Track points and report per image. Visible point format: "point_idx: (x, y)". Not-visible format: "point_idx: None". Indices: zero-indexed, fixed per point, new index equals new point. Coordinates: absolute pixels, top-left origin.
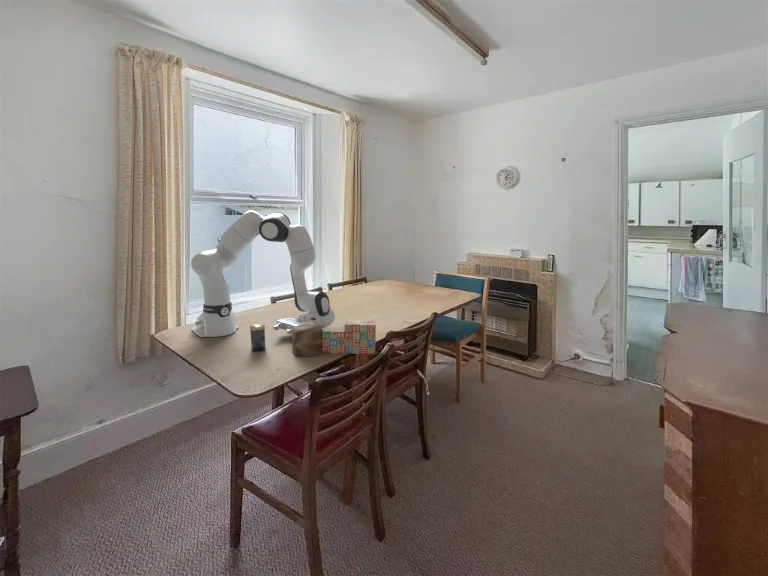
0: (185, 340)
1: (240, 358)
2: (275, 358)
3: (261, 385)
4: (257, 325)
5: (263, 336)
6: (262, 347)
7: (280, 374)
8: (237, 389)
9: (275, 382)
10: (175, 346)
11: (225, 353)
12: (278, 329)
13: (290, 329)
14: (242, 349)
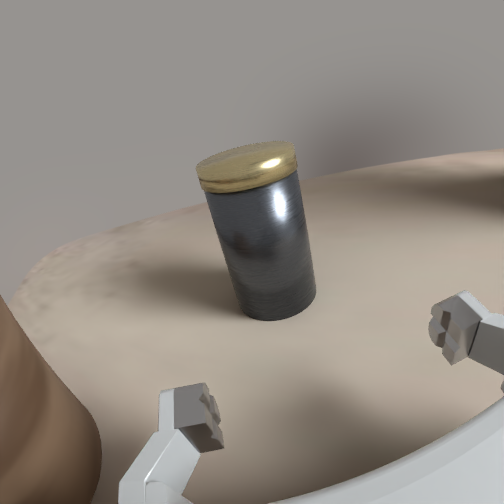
0: (481, 163)
1: (219, 244)
2: (105, 325)
3: (38, 269)
4: (257, 153)
5: (219, 236)
6: (234, 288)
7: (25, 303)
8: (69, 243)
9: (19, 287)
10: (433, 157)
11: (309, 215)
12: (451, 363)
13: (184, 419)
14: (324, 248)
